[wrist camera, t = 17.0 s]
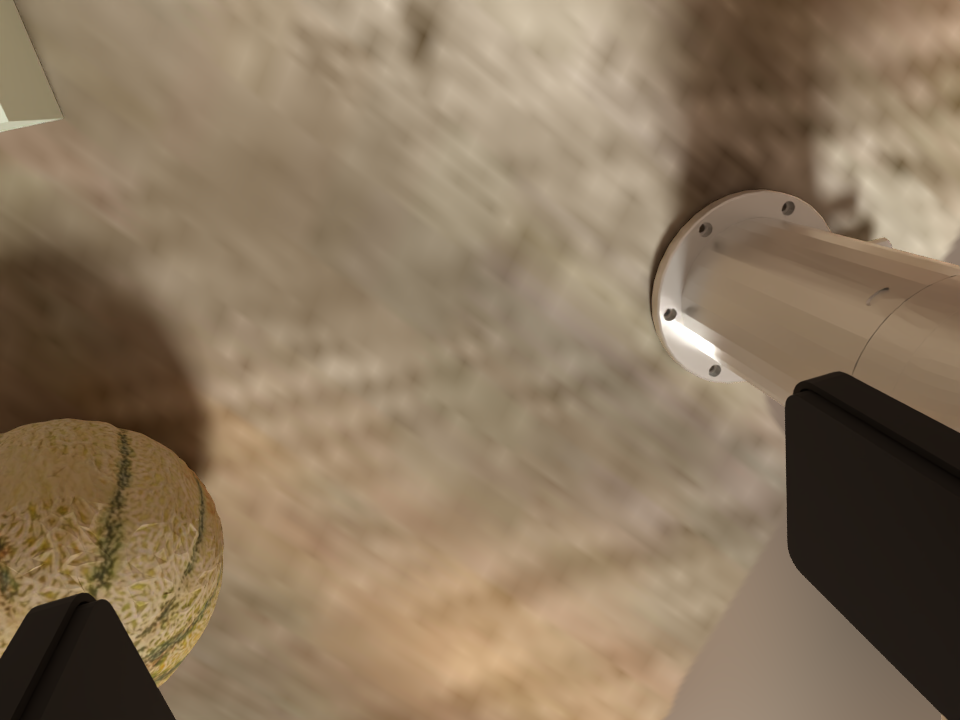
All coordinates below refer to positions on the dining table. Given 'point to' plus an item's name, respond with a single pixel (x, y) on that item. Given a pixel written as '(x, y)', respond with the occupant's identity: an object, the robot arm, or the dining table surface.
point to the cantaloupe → (108, 534)
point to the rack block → (22, 76)
